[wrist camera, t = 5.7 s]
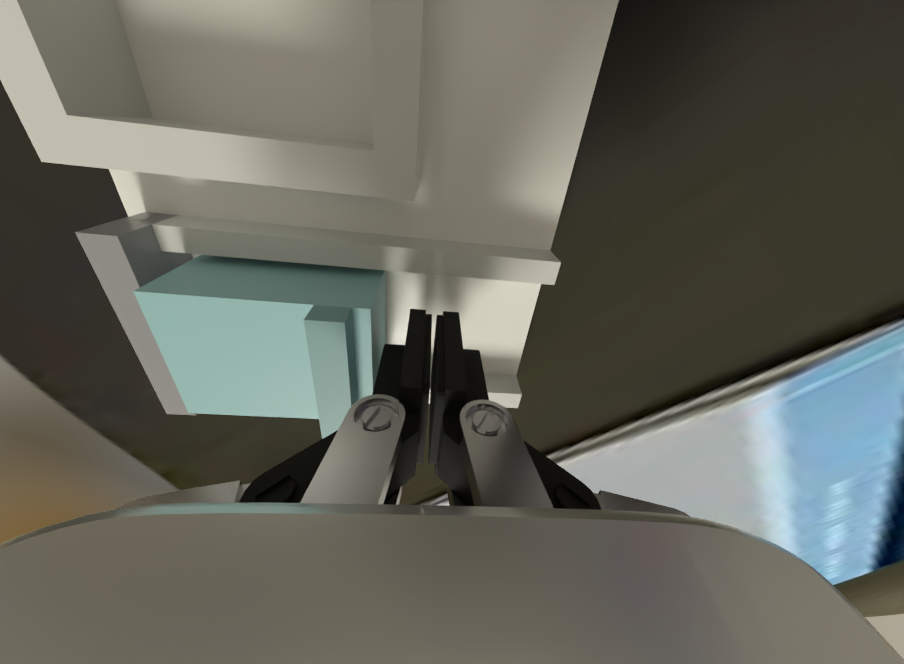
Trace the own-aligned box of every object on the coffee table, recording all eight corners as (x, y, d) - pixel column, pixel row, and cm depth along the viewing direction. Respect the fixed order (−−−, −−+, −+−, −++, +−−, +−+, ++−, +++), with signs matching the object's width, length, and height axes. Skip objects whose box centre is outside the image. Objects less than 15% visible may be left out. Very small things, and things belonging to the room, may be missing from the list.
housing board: (661, -231, 7) (836, -512, 4) (507, 372, 16) (524, 431, 13) (-66, -405, 6) (-645, -1017, 3) (208, 354, 15) (147, 415, 12)
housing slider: (385, 268, 11) (365, 324, 8) (385, 366, 14) (369, 440, 11) (204, 252, 11) (106, 305, 8) (236, 358, 13) (171, 432, 10)
